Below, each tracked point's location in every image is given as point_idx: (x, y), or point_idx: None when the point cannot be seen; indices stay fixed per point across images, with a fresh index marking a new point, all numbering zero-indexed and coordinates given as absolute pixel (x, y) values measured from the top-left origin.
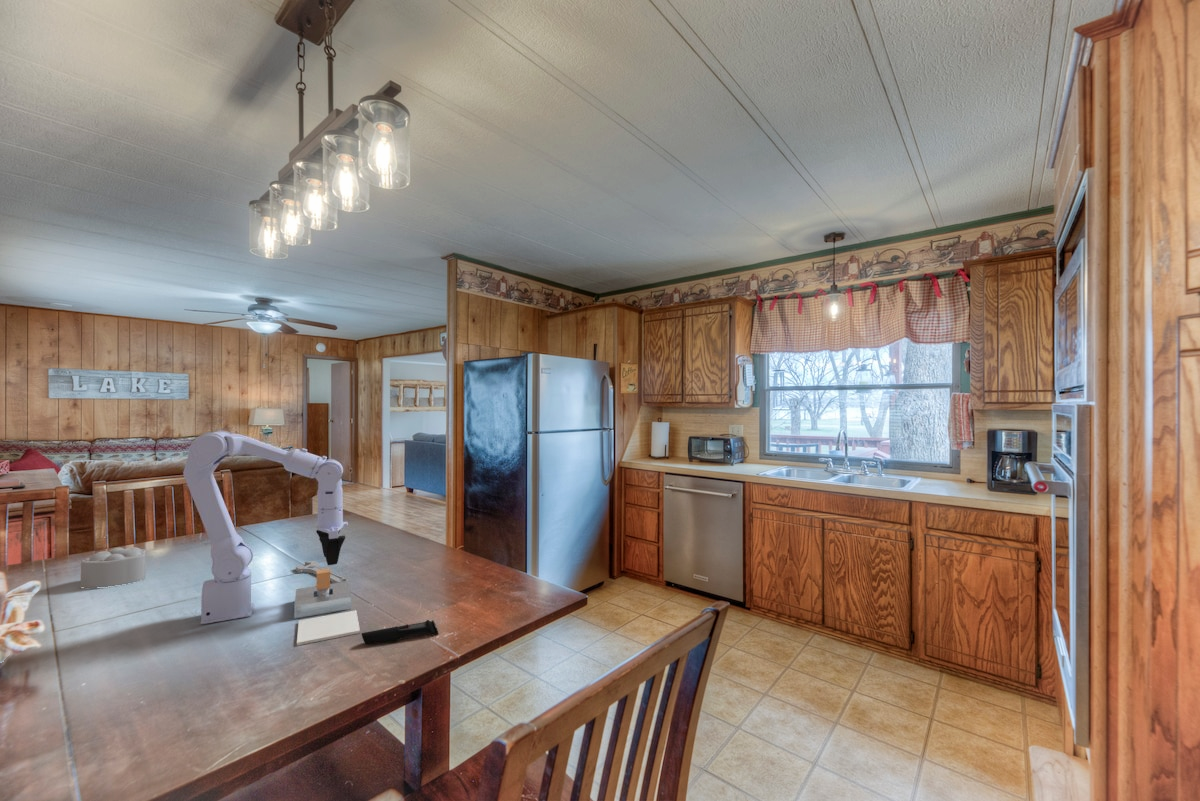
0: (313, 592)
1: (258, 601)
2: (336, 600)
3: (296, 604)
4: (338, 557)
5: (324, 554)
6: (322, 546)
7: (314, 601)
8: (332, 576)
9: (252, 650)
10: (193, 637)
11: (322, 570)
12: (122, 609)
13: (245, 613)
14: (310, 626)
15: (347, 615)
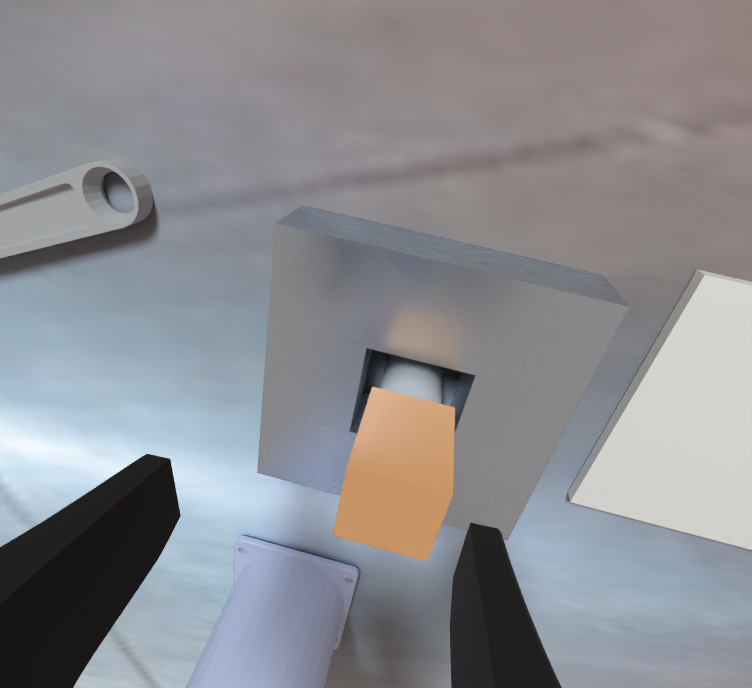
0: None
1: (208, 515)
2: (585, 381)
3: None
4: (519, 593)
5: (164, 543)
6: (98, 644)
7: (517, 471)
8: (7, 224)
9: (684, 630)
10: (423, 667)
11: (365, 515)
12: (115, 683)
13: (336, 578)
14: (694, 494)
15: (735, 338)
